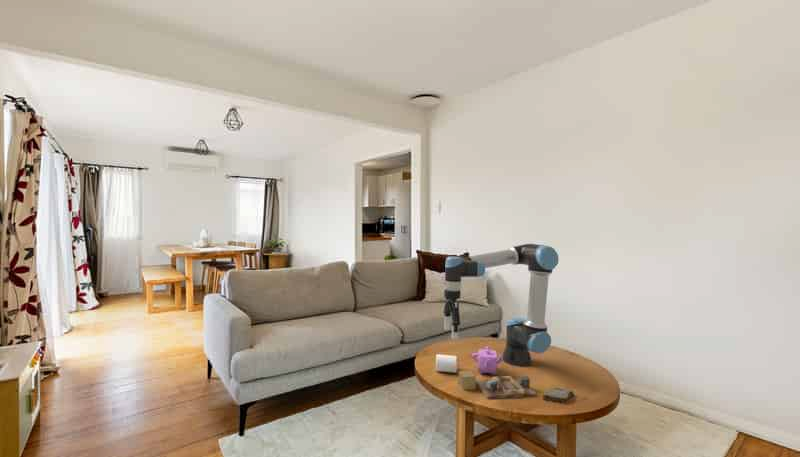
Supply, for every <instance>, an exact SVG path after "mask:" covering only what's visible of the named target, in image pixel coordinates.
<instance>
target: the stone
mask: <svg viewBox="0 0 800 457" xmlns="http://www.w3.org/2000/svg"><path fill="white" fill-rule="evenodd" d="M574 397H575V393H574V392H573V390H571V389H565V388H560V387H558V386H557V387H556V386H553V387H552V388H551V389H549V390H547V391H545V392H544V393H543V396H542V400H543V401H544V400H545V402H549V401H552V402H551V403H556V402H559V403H558V404H562V403H565V404H567V403H568V402H570V400H572V399H573V398H574ZM571 398H572V399H571ZM567 401H568V402H567ZM566 402H567V403H566Z"/></svg>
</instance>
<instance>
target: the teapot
mask: <svg viewBox="0 0 800 457" xmlns="http://www.w3.org/2000/svg"><path fill="white" fill-rule="evenodd" d="M476 356H477V357H476ZM471 358H472V359H473V360H474V361H475V362H476V363H477V367H478V368H477V370H478V373H479V374H480V375H484V374H490V375H491V376H495V375H497V373H498V371H497V369H498V368H497V367H498V364H500V363H501V362H503V357H502V355H498V354H497V351H496V350H492V349H489V346H487V345H486V346H485V349H483V348H482V349H481V348H478V352H477V353H476V352H475V353H472V354H471ZM477 358H478V359H477ZM498 358H499V359H498Z"/></svg>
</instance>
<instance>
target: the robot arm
mask: <svg viewBox="0 0 800 457" xmlns="http://www.w3.org/2000/svg"><path fill="white" fill-rule="evenodd" d="M558 263H559V255H558V252H557V251H556V249H555V248H553V247H552V246H549V245H545V244H535V243H526V244H519V245H516V246H511V247H509V248H508V249H504V250H499V251H493V252H487V253H486V252H485V253H481V254H476V255H469V256H465V257H464V256H463V257H460V256H448V257H446V259H445V265H444V267H445V268H444V270H445V272H444V282H443V285H444V292H443V293H444V294H443V295H444V298H445V303H444V304H445V305H444V308H443V309H444V310H443V314H444V331H451V340H459V326H460V325H461V320H460V319H461V318H460V317H461V316H460V309H459V307H460V305H459V304H460V303H459V302H457V300H460V298H461V289H462V278H480V277H483V276H484V275H485V273H486V269H488V268H489V269H490V268H495V267H499V266H500V267H501V266H505V265H513V266H515V265H516V266H517V265H525V266H527V271H528V272H529V274H530V279H529V280H530V281H529V291H528V292H529V293H528V302H527V310H526V311H527V312H526V318H519V317H512V318H508V319H507V322H506V325H505V326H506V336H505V337H506V338H505V347H504V350H503V352H502V355H501V356H502V357H503V360H502V362H505V363H507V364H509V365H513V366H517V367H525V366H529V365H531V364H532V356H531V353H530V352H532V353H535V354H543V353H545V352H546V351H547V350H549V348H550V347H551V344H552V337H551V335H550V334H549V333H548V325H547V323H546V322H545V318H546V309H547V298H548V297H547V296H548V288H549V286H548V285H549V276H550V275H551V274H553V270H554V269H555V268H556V266H558ZM451 319H452V322H451Z"/></svg>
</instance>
